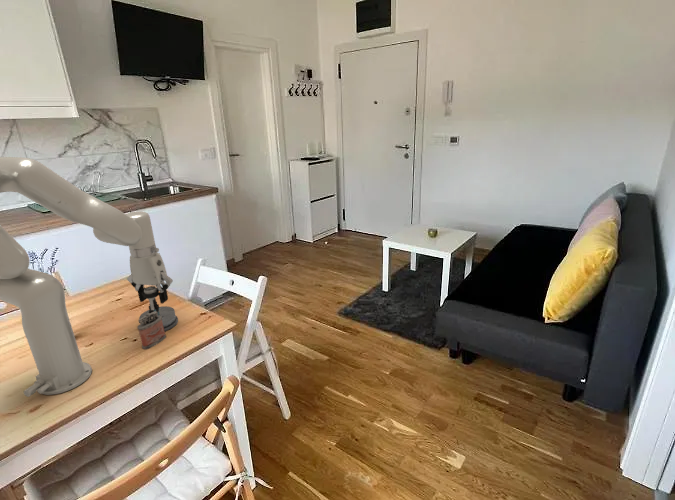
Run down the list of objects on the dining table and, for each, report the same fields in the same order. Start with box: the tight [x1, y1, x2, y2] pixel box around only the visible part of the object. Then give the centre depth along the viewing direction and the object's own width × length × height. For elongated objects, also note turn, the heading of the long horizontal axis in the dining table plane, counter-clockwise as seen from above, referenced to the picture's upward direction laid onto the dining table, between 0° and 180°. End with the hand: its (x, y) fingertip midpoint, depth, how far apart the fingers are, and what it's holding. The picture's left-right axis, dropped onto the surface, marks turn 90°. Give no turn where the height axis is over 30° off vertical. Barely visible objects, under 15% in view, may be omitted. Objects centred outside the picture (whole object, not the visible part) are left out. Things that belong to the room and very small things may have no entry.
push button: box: [142, 285, 161, 316], centre depth 127 cm, size 7×5×10 cm
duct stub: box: [138, 305, 179, 332], centre depth 130 cm, size 12×12×4 cm
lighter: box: [136, 311, 167, 350], centre depth 119 cm, size 8×3×10 cm, turn 154°
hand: (154, 300), depth 128 cm, fingers open, 7 cm apart
